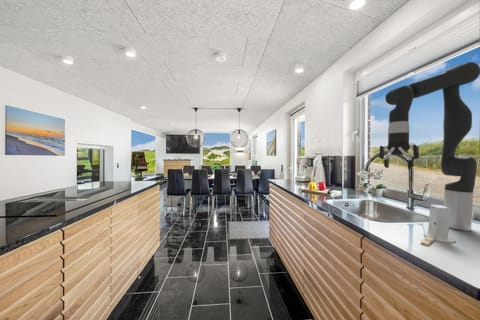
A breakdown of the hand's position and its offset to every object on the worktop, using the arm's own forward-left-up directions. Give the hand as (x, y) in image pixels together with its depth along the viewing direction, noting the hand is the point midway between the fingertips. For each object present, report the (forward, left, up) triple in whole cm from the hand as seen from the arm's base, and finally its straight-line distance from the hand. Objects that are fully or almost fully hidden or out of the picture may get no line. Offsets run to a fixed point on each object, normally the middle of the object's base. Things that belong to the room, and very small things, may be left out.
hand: (397, 168), depth 94 cm
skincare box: (+1, +14, -27) cm, 30 cm away
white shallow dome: (0, +15, -27) cm, 31 cm away
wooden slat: (+10, +13, -27) cm, 32 cm away
